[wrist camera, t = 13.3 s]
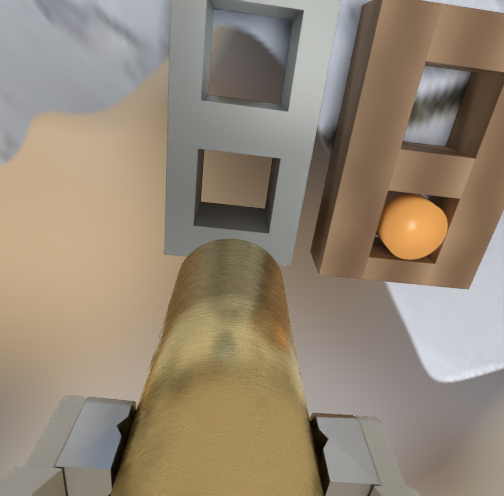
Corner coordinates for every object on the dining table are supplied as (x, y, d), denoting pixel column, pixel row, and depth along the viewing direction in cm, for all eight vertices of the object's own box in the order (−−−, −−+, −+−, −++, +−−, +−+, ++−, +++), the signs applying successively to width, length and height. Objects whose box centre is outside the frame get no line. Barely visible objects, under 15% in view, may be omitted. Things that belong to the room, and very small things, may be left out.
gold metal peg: (175, 324, 15) (73, 718, 6) (179, 232, 13) (44, 592, 4) (274, 332, 15) (321, 719, 6) (291, 244, 13) (389, 603, 4)
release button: (363, 236, 30) (377, 256, 27) (378, 184, 29) (395, 199, 25) (415, 242, 31) (435, 262, 28) (433, 190, 29) (456, 206, 26)
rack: (175, 226, 31) (164, 254, 26) (185, -42, 23) (172, -68, 19) (283, 237, 31) (290, 266, 27) (328, -20, 24) (349, -40, 19)
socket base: (310, 251, 32) (319, 274, 28) (362, 5, 24) (383, -6, 21) (443, 265, 33) (468, 289, 29) (535, 31, 25) (584, 25, 22)
